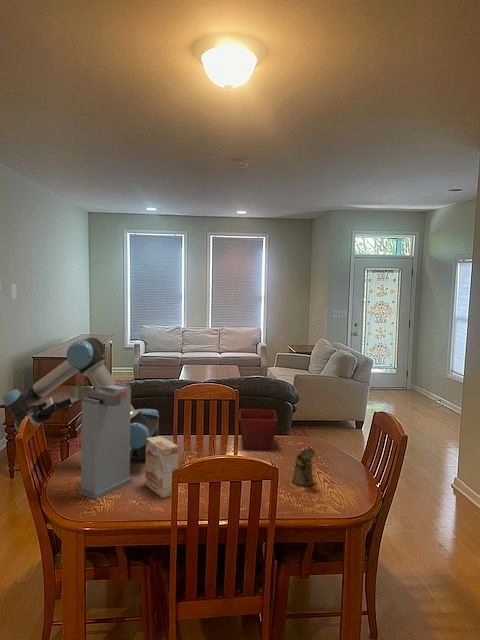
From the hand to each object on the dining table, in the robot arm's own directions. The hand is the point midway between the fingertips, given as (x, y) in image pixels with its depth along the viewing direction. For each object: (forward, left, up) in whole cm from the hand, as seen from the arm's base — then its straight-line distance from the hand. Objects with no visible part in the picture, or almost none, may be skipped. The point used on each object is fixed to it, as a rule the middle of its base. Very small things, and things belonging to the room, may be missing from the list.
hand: (66, 397), depth 193 cm
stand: (-17, +13, -34) cm, 40 cm away
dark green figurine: (-97, +23, -34) cm, 106 cm away
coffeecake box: (-38, +18, -34) cm, 54 cm away
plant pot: (-90, -26, -34) cm, 100 cm away
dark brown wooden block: (-12, +15, +2) cm, 19 cm away
